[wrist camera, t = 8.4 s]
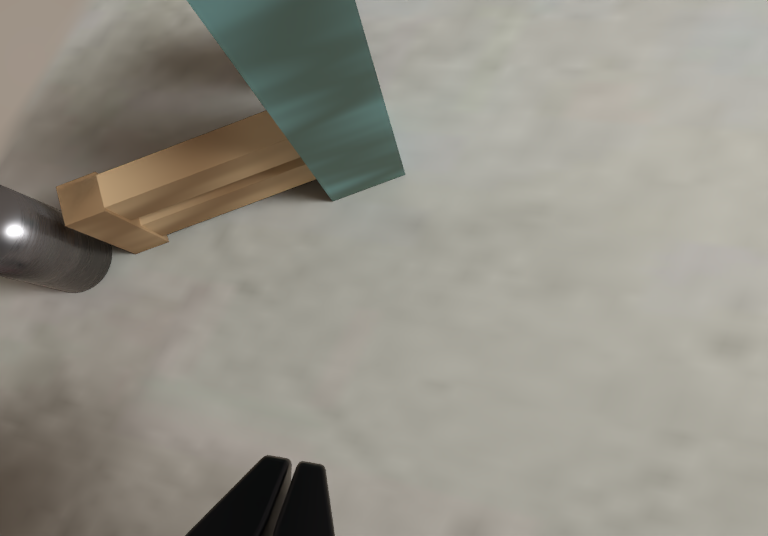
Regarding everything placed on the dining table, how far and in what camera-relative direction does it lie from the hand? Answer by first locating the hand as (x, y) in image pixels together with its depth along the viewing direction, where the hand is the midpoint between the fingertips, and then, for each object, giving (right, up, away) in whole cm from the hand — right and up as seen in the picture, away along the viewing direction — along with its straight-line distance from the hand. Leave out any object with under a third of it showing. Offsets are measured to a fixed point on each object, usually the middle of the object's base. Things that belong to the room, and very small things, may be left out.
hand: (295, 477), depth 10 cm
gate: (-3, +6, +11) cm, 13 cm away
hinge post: (-9, +4, +11) cm, 15 cm away
